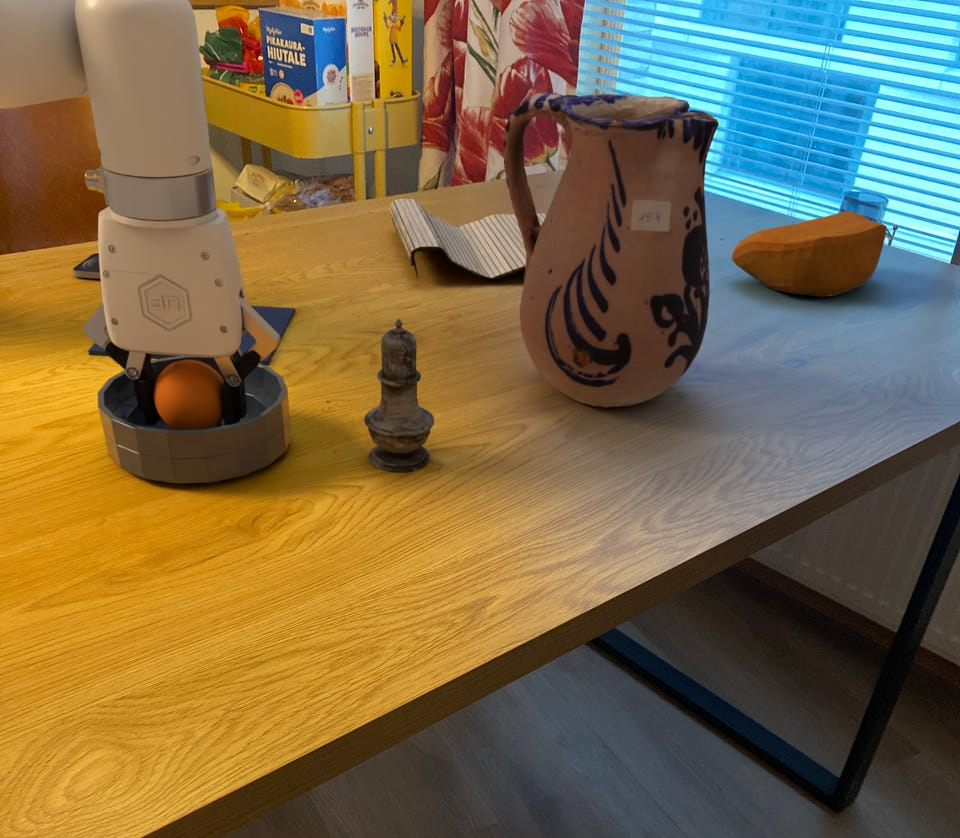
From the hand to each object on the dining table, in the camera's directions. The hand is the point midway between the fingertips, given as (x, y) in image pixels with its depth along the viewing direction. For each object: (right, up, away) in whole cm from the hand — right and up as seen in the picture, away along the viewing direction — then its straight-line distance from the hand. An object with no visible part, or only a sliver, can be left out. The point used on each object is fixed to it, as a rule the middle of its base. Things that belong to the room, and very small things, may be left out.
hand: (194, 419), depth 79 cm
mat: (+25, +33, +46) cm, 61 cm away
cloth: (-6, +14, +21) cm, 26 cm away
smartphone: (-16, +26, +34) cm, 45 cm away
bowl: (0, -2, +1) cm, 2 cm away
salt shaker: (+17, -3, +2) cm, 18 cm away
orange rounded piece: (0, +2, -1) cm, 2 cm away
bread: (+66, +28, +43) cm, 83 cm away
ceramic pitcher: (+35, +7, +15) cm, 38 cm away
